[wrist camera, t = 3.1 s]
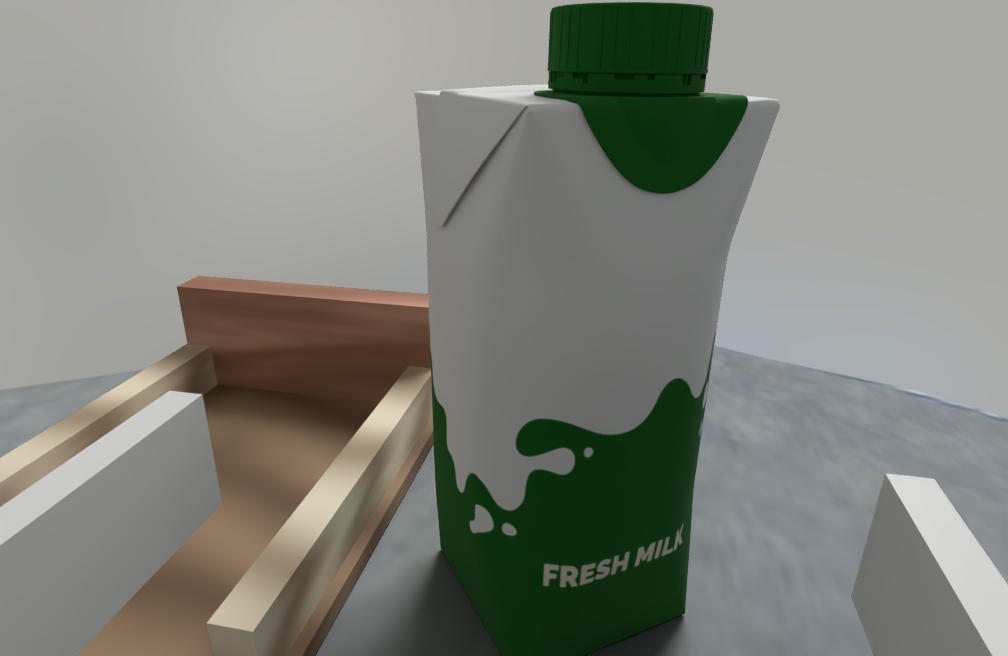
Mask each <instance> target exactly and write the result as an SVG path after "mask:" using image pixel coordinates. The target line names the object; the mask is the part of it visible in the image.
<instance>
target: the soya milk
mask: <svg viewBox="0 0 1008 656" xmlns="http://www.w3.org/2000/svg"><path fill="white" fill-rule="evenodd" d="M550 14H551V15H550V36H549V57H548V58H549V59H548V71H549V82H548V85H515V86H499V87H481V88H466V89H446V90H443V91H417V92H415V97H416V105H417V116H418V128H419V139H420V140H419V141H420V153H421V165H422V177H423V190H424V201H425V215H426V229H427V259H428V261H427V262H428V297H429V325H430V353H431V382H432V410H433V438H434V460H435V481H436V495H437V507H438V519H439V530H440V544H441V549H442V551H443V552H444V554H445V556H446V558H447V560H448V561H449V563H450V565H451V567H452V568H453V570H454V572H455V574H456V576H457V577H458V579H459V581H460V583H461V585H462V586H463V588H464V590H465V592H466V594H467V595H468V597H469V599H470V601H471V603H472V604H473V606H474V608H475V610H476V612H477V613H478V615H479V617H480V619H481V621H482V622H483V624H484V626H485V628H486V630H487V631H488V633H489V635H490V637H491V639H492V640H493V642H494V644H495V646H496V648H497V649H498V651H499V653H500V655H501V656H583V655H586V654H588V653H590V652H593V651H595V650H598V649H600V648H602V647H605V646H607V645H610V644H612V643H614V642H617V641H619V640H622V639H624V638H627V637H629V636H631V635H634V634H636V633H639V632H641V631H643V630H646V629H648V628H651V627H653V626H655V625H658V624H660V623H663V622H665V621H667V620H670V619H672V618H675V617H677V616H679V615H682V614H684V613H685V603H686V588H687V574H688V560H689V546H690V531H691V517H692V501H693V489H694V481H695V474H696V466H697V459H698V452H699V445H700V439H701V432H702V425H703V418H704V411H705V404H706V397H707V390H708V383H709V376H710V370H711V363H712V356H713V349H714V342H715V335H716V329H717V322H718V315H719V308H720V301H721V295H722V288H723V281H724V275H725V269H726V262H727V256H728V252H729V248H730V244H731V241H732V238H733V235H734V232H735V229H736V226H737V223H738V221H739V218H740V215H741V212H742V209H743V207H744V204H745V201H746V199H747V196H748V193H749V190H750V187H751V185H752V182H753V179H754V176H755V174H756V171H757V168H758V165H759V163H760V160H761V157H762V155H763V152H764V149H765V146H766V144H767V141H768V138H769V135H770V133H771V130H772V127H773V124H774V122H775V119H776V116H777V113H778V110H779V108H780V104H779V101H778V100H777V99H769V98H761V97H748V96H743V95H729V94H715V93H702V92H704V88H705V80H706V73H707V72H708V69H707V67H708V59H709V58H708V57H709V50H710V41H711V32H712V23H713V22H712V21H713V9H712V8H711V7H708V6H703V5H693V4H681V3H680V4H679V3H651V2H646V3H645V2H616V3H615V2H614V3H587V4H572V5H563V6H557V7H554V8H552V10H551V13H550Z"/></svg>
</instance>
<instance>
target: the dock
mask: <svg viewBox="0 0 1008 656" xmlns="http://www.w3.org/2000/svg"><path fill="white" fill-rule="evenodd" d="M177 290H178V295H179V300H180V306H181V311H182V316H183V321H184V327H185V332H186V338H187V343H188V344H186V345H185V346H183V347H181V348H180V349H178V350H176V351H175V352H173V353H171V354H170V355H169V356H167V357H165V358H163V359H162V360H160V361H158V362H157V363H155V364H153V365H152V366H150V367H149V368H147V369H145V370H144V371H142V372H140V373H139V374H137V375H135V376H134V377H132V378H131V379H129V380H127V381H126V382H124V383H122V384H121V385H119V386H117V387H116V388H114V389H112V390H111V391H109V392H108V393H106V394H104V395H103V396H101V397H99V398H98V399H96V400H94V401H93V402H91V403H90V404H88V405H86V406H85V407H83V408H81V409H80V410H78V411H76V412H75V413H73V414H72V415H70V416H68V417H67V418H65V419H63V420H62V421H60V422H58V423H57V424H55V425H54V426H52V427H50V428H49V429H47V430H45V431H44V432H42V433H40V434H39V435H37V436H36V437H34V438H32V439H31V440H29V441H27V442H26V443H24V444H22V445H21V446H19V447H18V448H16V449H14V450H13V451H11V452H9V453H8V454H6V455H4V456H3V457H1V458H0V507H1V506H3V505H4V504H5V503H7V502H8V501H10V500H11V499H13V498H14V497H16V496H17V495H19V494H20V493H21V492H23V491H24V490H26V489H27V488H29V487H30V486H32V485H33V484H35V483H36V482H37V481H39V480H40V479H42V478H43V477H45V476H46V475H48V474H49V473H51V472H52V471H53V470H55V469H56V468H58V467H59V466H61V465H62V464H64V463H65V462H67V461H68V460H69V459H71V458H72V457H74V456H75V455H77V454H78V453H80V452H81V451H83V450H84V449H85V448H87V447H88V446H90V445H91V444H93V443H94V442H96V441H97V440H99V439H100V438H101V437H103V436H104V435H106V434H107V433H109V432H110V431H112V430H113V429H115V428H116V427H117V426H119V425H120V424H122V423H123V422H125V421H126V420H128V419H129V418H131V417H132V416H133V415H135V414H136V413H138V412H139V411H141V410H142V409H144V408H145V407H147V406H148V405H149V404H151V403H152V402H154V401H155V400H157V399H158V398H160V397H161V396H163V395H164V394H165V393H167V392H168V391H177V392H186V393H194V394H202V395H203V401H204V406H205V412H206V417H207V423H208V428H209V434H210V439H211V445H212V450H213V456H214V461H215V467H216V472H217V478H218V483H219V489H220V494H221V499H222V504H221V505H220V506H219V507H218V508H217V509H216V511H215V512H214V513H213V514H212V515H211V516H210V517H209V518H208V519H207V520H206V521H205V522H204V523H203V524H202V525H201V526H200V527H199V528H198V529H197V530H196V531H195V532H194V533H193V534H192V535H191V537H190V538H189V539H188V540H187V541H186V542H185V543H184V544H183V545H182V546H181V547H180V548H179V549H178V550H177V551H176V552H175V553H174V554H173V555H172V556H171V557H170V558H169V559H168V560H167V561H166V563H165V564H164V565H163V566H162V567H161V568H160V569H159V570H158V571H157V572H156V573H155V574H154V575H153V576H152V577H151V578H150V579H149V580H148V581H147V582H146V583H145V584H144V585H143V586H142V587H141V589H140V590H139V591H138V592H137V593H136V594H135V595H134V596H133V597H132V598H131V599H130V600H129V601H128V602H127V603H126V604H125V605H124V606H123V607H122V608H121V609H120V610H119V611H118V612H117V613H116V615H115V616H114V617H113V618H112V619H111V620H110V621H109V622H108V623H107V624H106V625H105V626H104V627H103V628H102V629H101V630H100V631H99V632H98V633H97V634H96V635H95V636H94V637H93V638H92V639H91V640H90V642H89V643H88V644H87V645H86V646H85V647H84V648H83V649H82V650H81V651H80V652H79V653H78V654H77V655H76V656H315V655H316V653H317V651H318V649H319V648H320V646H321V644H322V642H323V640H324V639H325V637H326V635H327V633H328V632H329V630H330V628H331V626H332V624H333V623H334V621H335V619H336V617H337V615H338V614H339V612H340V610H341V608H342V607H343V605H344V603H345V601H346V599H347V598H348V596H349V594H350V592H351V590H352V589H353V587H354V585H355V583H356V581H357V580H358V578H359V576H360V574H361V573H362V571H363V569H364V567H365V565H366V564H367V562H368V560H369V558H370V556H371V555H372V553H373V551H374V549H375V548H376V546H377V544H378V542H379V540H380V539H381V537H382V535H383V533H384V531H385V530H386V528H387V526H388V524H389V523H390V521H391V519H392V517H393V515H394V514H395V512H396V510H397V508H398V506H399V505H400V503H401V501H402V499H403V498H404V496H405V494H406V492H407V490H408V489H409V487H410V485H411V483H412V481H413V480H414V478H415V476H416V474H417V472H418V471H419V469H420V467H421V465H422V464H423V462H424V460H425V458H426V456H427V455H428V453H429V451H430V449H431V447H432V446H433V444H434V438H433V410H432V382H431V353H430V325H429V297H428V294H419V293H406V292H393V291H380V290H369V289H356V288H344V287H331V286H317V285H306V284H293V283H281V282H268V281H256V280H242V279H230V278H217V277H204V276H198V277H196V278H194V279H192V280H190V281H188V282H185V283H183V284H181V285H179V286H177Z"/></svg>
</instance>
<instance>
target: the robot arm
mask: <svg viewBox="0 0 1008 656" xmlns="http://www.w3.org/2000/svg"><path fill="white" fill-rule="evenodd" d="M221 504H222V499H221V494H220V489H219V483H218V478H217V472H216V467H215V461H214V456H213V450H212V445H211V439H210V434H209V428H208V423H207V417H206V412H205V406H204V401H203V395H202V394H194V393H186V392H177V391H168V392H167V393H165V394H164V395H163V396H161V397H160V398H158V399H157V400H155V401H154V402H152V403H151V404H149V405H148V406H147V407H145V408H144V409H142V410H141V411H139V412H138V413H136V414H135V415H133V416H132V417H131V418H129V419H128V420H126V421H125V422H123V423H122V424H120V425H119V426H117V427H116V428H115V429H113V430H112V431H110V432H109V433H107V434H106V435H104V436H103V437H101V438H100V439H99V440H97V441H96V442H94V443H93V444H91V445H90V446H88V447H87V448H85V449H84V450H83V451H81V452H80V453H78V454H77V455H75V456H74V457H72V458H71V459H69V460H68V461H67V462H65V463H64V464H62V465H61V466H59V467H58V468H56V469H55V470H53V471H52V472H51V473H49V474H48V475H46V476H45V477H43V478H42V479H40V480H39V481H37V482H36V483H35V484H33V485H32V486H30V487H29V488H27V489H26V490H24V491H23V492H21V493H20V494H19V495H17V496H16V497H14V498H13V499H11V500H10V501H8V502H7V503H5V504H4V505H3V506H1V507H0V656H76V655H77V654H78V653H79V652H80V651H81V650H82V649H83V648H84V647H85V646H86V645H87V644H88V643H89V642H90V640H91V639H92V638H93V637H94V636H95V635H96V634H97V633H98V632H99V631H100V630H101V629H102V628H103V627H104V626H105V625H106V624H107V623H108V622H109V621H110V620H111V619H112V618H113V617H114V616H115V615H116V613H117V612H118V611H119V610H120V609H121V608H122V607H123V606H124V605H125V604H126V603H127V602H128V601H129V600H130V599H131V598H132V597H133V596H134V595H135V594H136V593H137V592H138V591H139V590H140V589H141V587H142V586H143V585H144V584H145V583H146V582H147V581H148V580H149V579H150V578H151V577H152V576H153V575H154V574H155V573H156V572H157V571H158V570H159V569H160V568H161V567H162V566H163V565H164V564H165V563H166V561H167V560H168V559H169V558H170V557H171V556H172V555H173V554H174V553H175V552H176V551H177V550H178V549H179V548H180V547H181V546H182V545H183V544H184V543H185V542H186V541H187V540H188V539H189V538H190V537H191V535H192V534H193V533H194V532H195V531H196V530H197V529H198V528H199V527H200V526H201V525H202V524H203V523H204V522H205V521H206V520H207V519H208V518H209V517H210V516H211V515H212V514H213V513H214V512H215V511H216V509H217V508H218V507H219V506H220V505H221ZM851 597H852V600H853V602H854V605H855V607H856V610H857V613H858V615H859V618H860V620H861V623H862V625H863V628H864V631H865V633H866V636H867V638H868V641H869V644H870V646H871V649H872V651H873V654H874V656H1008V585H1007V583H1006V582H1005V580H1004V579H1003V577H1002V576H1001V574H1000V573H999V572H998V570H997V569H996V567H995V566H994V564H993V563H992V562H991V560H990V559H989V557H988V556H987V554H986V553H985V551H984V550H983V549H982V547H981V546H980V544H979V543H978V541H977V540H976V539H975V537H974V536H973V534H972V533H971V531H970V530H969V528H968V527H967V526H966V524H965V523H964V521H963V520H962V518H961V517H960V516H959V514H958V513H957V511H956V510H955V508H954V507H953V505H952V504H951V503H950V501H949V500H948V498H947V497H946V495H945V494H944V493H943V491H942V490H941V488H940V487H939V485H938V484H937V482H936V481H935V480H934V479H929V478H921V477H912V476H903V475H895V474H886V473H885V477H884V480H883V484H882V488H881V491H880V495H879V498H878V502H877V506H876V509H875V513H874V516H873V520H872V524H871V527H870V531H869V534H868V538H867V542H866V545H865V549H864V552H863V556H862V560H861V563H860V567H859V571H858V574H857V578H856V581H855V585H854V589H853V592H852V596H851Z"/></svg>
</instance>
